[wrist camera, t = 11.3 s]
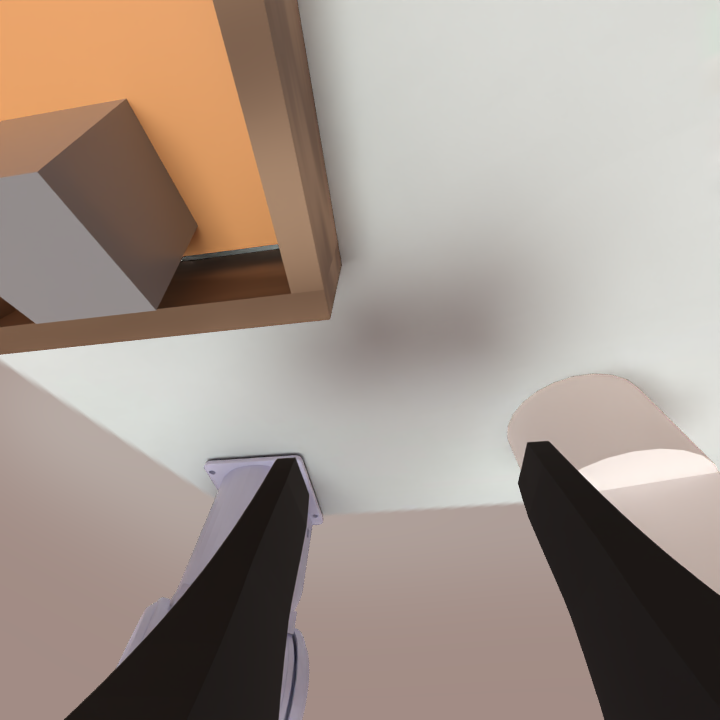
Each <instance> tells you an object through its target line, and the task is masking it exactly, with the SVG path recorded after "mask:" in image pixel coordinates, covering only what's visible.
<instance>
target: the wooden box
mask: <svg viewBox="0 0 720 720" xmlns="http://www.w3.org/2000/svg"><path fill="white" fill-rule="evenodd" d="M213 4H214V8H215V11H216V15H217V19H218V22H219V26H220V30H221V34H222V37H223V41H224V45H225V48H226V52H227V56H228V60H229V63H230V67H231V71H232V75H233V78H234V82H235V86H236V89H237V93H238V97H239V101H240V104H241V108H242V112H243V115H244V119H245V123H246V127H247V130H248V134H249V138H250V141H251V145H252V149H253V153H254V156H255V160H256V164H257V168H258V171H259V175H260V179H261V182H262V186H263V190H264V194H265V197H266V201H267V205H268V208H269V212H270V216H271V220H272V223H273V227H274V231H275V234H276V238H277V242H278V246H279V249H276V250H268V251H261V252H253V253H245V254H237V255H230V256H222V257H214V258H207V259H199V260H191V261H183V262H180V263H179V265H178V267H177V269H176V271H175V273H174V275H173V277H172V279H171V282H170V284H169V286H168V288H167V290H166V292H165V294H164V296H163V298H162V300H161V302H160V304H159V306H158V308H157V310H156V311H147V312H138V313H129V314H120V315H111V316H103V317H94V318H85V319H76V320H67V321H58V322H49V323H40V324H36V323H34V322H33V321H32V320H30V319H29V318H28V317H26V316H25V315H24V314H23V313H21V312H20V311H19V310H17V309H16V308H15V307H13V306H12V305H11V304H9V303H8V302H7V301H5V300H4V299H3V298H2V297H0V355H1V354H10V353H20V352H29V351H38V350H48V349H57V348H67V347H76V346H85V345H95V344H104V343H114V342H123V341H132V340H142V339H151V338H160V337H170V336H179V335H189V334H198V333H207V332H217V331H226V330H236V329H245V328H254V327H264V326H273V325H283V324H292V323H301V322H311V321H320V320H329V319H330V318H331V313H332V308H333V303H334V299H335V294H336V289H337V284H338V280H339V275H340V270H341V265H342V264H341V258H340V252H339V246H338V240H337V234H336V228H335V222H334V216H333V211H332V205H331V199H330V193H329V187H328V181H327V175H326V169H325V163H324V157H323V151H322V145H321V139H320V133H319V127H318V121H317V115H316V110H315V104H314V98H313V92H312V86H311V80H310V74H309V68H308V62H307V56H306V50H305V44H304V38H303V32H302V26H301V20H300V14H299V9H298V3H297V0H213Z"/></svg>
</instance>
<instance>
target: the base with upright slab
mask: <svg viewBox="0 0 720 720" xmlns="http://www.w3.org/2000/svg"><path fill="white" fill-rule="evenodd" d="M507 438H508V441H509V443H510V446H511V449H512V451H513V453H514V455H515V458H516V460H517V462H518V465H519V467H520V469H521V468H522V463H523V458H524V454H525V449H526V445H527V442H537V441H549V442H550V443H552V445H553V446H554V447H555V448H556V449H557V450H558V451H559V452H560V453H561V454H562V455H563V456H564V457H565V458H566V459H567V460H568V461H569V462H570V463H571V464H572V465H573V466H574V467H575V468H576V469H577V470H578V471H579V472H580V473H581V474H582V475H583V476H584V477H585V478H586V479H587V480H588V481H589V482H590V483H591V484H592V485H593V486H594V487H595V488H596V489H597V490H598V491H599V492H600V493H601V494H602V495H603V496H604V497H605V498H606V499H607V500H608V501H609V502H610V503H611V504H613V505H614V506H615V507H616V508H617V509H618V510H619V511H620V512H621V513H622V514H623V515H624V516H625V517H626V518H628V519H629V520H630V521H631V522H632V523H633V524H634V525H635V526H636V527H637V528H639V529H640V530H641V531H642V532H643V533H644V534H645V535H647V536H648V537H649V538H650V539H651V540H652V541H653V542H655V543H656V544H657V545H658V546H659V547H660V548H662V549H663V550H664V551H665V552H666V553H667V554H669V555H670V556H671V557H672V558H673V559H675V560H676V561H677V562H678V563H680V564H681V565H682V566H683V567H684V568H686V569H687V570H688V571H689V572H691V573H692V574H693V575H694V576H696V577H697V578H698V579H699V580H701V581H702V582H703V583H704V584H706V585H707V586H708V587H710V588H711V589H712V590H714V591H715V592H716V593H718V594H719V595H720V473H719V471H718V469H717V467H716V465H715V464H714V463H713V462H712V461H711V460H710V459H709V458H708V457H707V456H706V455H705V454H704V453H703V452H702V451H701V450H700V449H699V448H698V447H697V446H696V445H695V444H694V443H693V442H692V441H691V440H690V439H689V438H688V437H687V436H686V435H685V434H684V433H683V432H682V431H681V430H680V429H679V428H678V427H677V426H676V425H675V424H674V423H673V422H672V421H671V420H670V419H669V418H668V417H667V416H666V415H665V414H664V413H663V412H662V411H661V410H660V409H659V408H658V407H657V406H656V405H655V404H654V403H653V402H652V401H651V400H650V399H649V398H648V397H647V396H646V395H645V394H644V393H643V392H642V391H641V390H640V389H639V388H638V387H637V386H635V385H634V384H632V383H631V382H630V381H628V380H627V379H624V378H621V377H617V376H614V375H608V374H587V375H580V376H573V377H570V378H567V379H564V380H560V381H557V382H554V383H552V384H550V385H548V386H546V387H544V388H543V389H541V390H539V391H537V392H535V393H534V394H533V395H532V396H530V397H529V398H528V399H527V400H525V401H524V402H523V403H522V404H521V405H520V406H519V408H518V409H517V410H516V411H515V412H514V414H513V415H512V418H511V420H510V422H509V425H508V431H507Z"/></svg>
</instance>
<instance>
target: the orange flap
mask: <svg viewBox="0 0 720 720" xmlns="http://www.w3.org/2000/svg"><path fill="white" fill-rule="evenodd" d="M121 99H127V101H128V102H129V104H130V106H131V108H132V109H133V111H134V113H135V115H136V117H137V118H138V120H139V122H140V124H141V125H142V127H143V129H144V131H145V133H146V134H147V136H148V138H149V140H150V141H151V143H152V145H153V147H154V149H155V150H156V152H157V154H158V156H159V157H160V159H161V161H162V163H163V165H164V166H165V168H166V170H167V172H168V173H169V175H170V177H171V179H172V181H173V182H174V184H175V186H176V188H177V189H178V191H179V193H180V195H181V196H182V198H183V200H184V202H185V204H186V205H187V207H188V209H189V211H190V212H191V214H192V216H193V218H194V220H195V221H196V223H197V225H198V227H197V229H196V231H195V233H194V235H193V237H192V239H191V241H190V243H189V245H188V247H187V249H186V251H185V253H184V255H183V256H191V255H198V254H206V253H213V252H221V251H229V250H236V249H244V248H252V247H259V246H267V245H274V244H278V242H277V238H276V234H275V231H274V227H273V223H272V220H271V216H270V212H269V208H268V205H267V201H266V197H265V194H264V190H263V186H262V182H261V179H260V175H259V171H258V168H257V164H256V160H255V156H254V153H253V149H252V145H251V141H250V138H249V134H248V130H247V127H246V123H245V119H244V115H243V112H242V108H241V104H240V101H239V97H238V93H237V89H236V86H235V82H234V78H233V75H232V71H231V67H230V63H229V60H228V56H227V52H226V48H225V45H224V41H223V37H222V34H221V30H220V26H219V22H218V19H217V15H216V11H215V8H214V4H213V0H0V122H1V121H3V120H9V119H15V118H20V117H26V116H31V115H37V114H42V113H48V112H54V111H59V110H65V109H70V108H76V107H81V106H87V105H93V104H98V103H104V102H109V101H115V100H121Z"/></svg>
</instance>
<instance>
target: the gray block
mask: <svg viewBox="0 0 720 720" xmlns="http://www.w3.org/2000/svg"><path fill="white" fill-rule="evenodd" d="M197 227H198V225H197V223H196V221H195V220H194V218H193V216H192V214H191V212H190V211H189V209H188V207H187V205H186V204H185V202H184V200H183V198H182V196H181V195H180V193H179V191H178V189H177V188H176V186H175V184H174V182H173V181H172V179H171V177H170V175H169V173H168V172H167V170H166V168H165V166H164V165H163V163H162V161H161V159H160V157H159V156H158V154H157V152H156V150H155V149H154V147H153V145H152V143H151V141H150V140H149V138H148V136H147V134H146V133H145V131H144V129H143V127H142V125H141V124H140V122H139V120H138V118H137V117H136V115H135V113H134V111H133V109H132V108H131V106H130V104H129V102H128V101H127V99H121V100H115V101H109V102H104V103H98V104H93V105H87V106H81V107H76V108H70V109H65V110H59V111H54V112H48V113H42V114H37V115H31V116H26V117H20V118H15V119H9V120H3V121H1V122H0V297H2V298H3V299H4V300H5V301H7V302H8V303H9V304H11V305H12V306H13V307H15V308H16V309H17V310H19V311H20V312H21V313H23V314H24V315H25V316H26V317H28V318H29V319H30V320H32V321H33V322H34V323H36V324H40V323H49V322H58V321H67V320H76V319H85V318H94V317H103V316H111V315H120V314H129V313H138V312H147V311H156V310H157V308H158V306H159V304H160V302H161V300H162V298H163V296H164V294H165V292H166V290H167V288H168V286H169V284H170V282H171V279H172V277H173V275H174V273H175V271H176V269H177V267H178V265H179V263H180V261H181V259H182V257H183V255H184V253H185V251H186V249H187V247H188V245H189V243H190V241H191V239H192V237H193V235H194V233H195V231H196V229H197Z"/></svg>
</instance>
